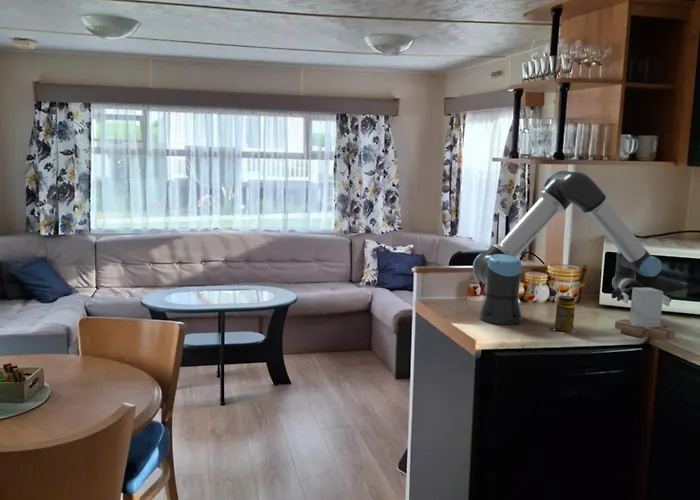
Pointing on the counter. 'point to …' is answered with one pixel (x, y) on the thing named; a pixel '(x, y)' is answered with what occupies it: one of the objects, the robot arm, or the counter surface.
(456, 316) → the counter surface
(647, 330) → the cross stand
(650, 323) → the supplement box
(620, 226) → the robot arm
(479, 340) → the counter surface
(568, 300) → the condiment
